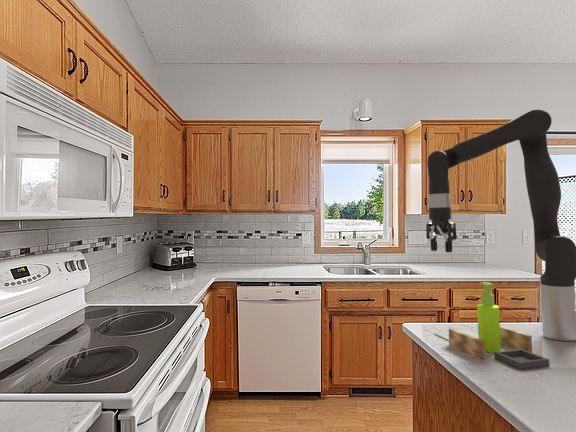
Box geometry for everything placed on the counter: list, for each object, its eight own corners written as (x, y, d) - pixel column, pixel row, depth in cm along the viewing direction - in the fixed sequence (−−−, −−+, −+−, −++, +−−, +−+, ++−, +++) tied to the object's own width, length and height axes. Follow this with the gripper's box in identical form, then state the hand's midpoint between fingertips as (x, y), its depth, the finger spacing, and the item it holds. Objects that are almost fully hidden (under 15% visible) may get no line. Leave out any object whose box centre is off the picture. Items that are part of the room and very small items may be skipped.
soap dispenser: (494, 345, 120) (491, 280, 121) (504, 352, 114) (501, 284, 114) (474, 345, 121) (472, 281, 121) (483, 352, 114) (480, 284, 115)
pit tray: (494, 358, 109) (494, 352, 109) (521, 355, 111) (521, 348, 111) (520, 370, 100) (520, 363, 100) (549, 366, 102) (548, 359, 102)
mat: (433, 334, 134) (433, 332, 134) (466, 330, 137) (466, 329, 137) (454, 343, 123) (454, 342, 123) (489, 339, 126) (489, 338, 126)
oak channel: (449, 344, 122) (448, 328, 122) (496, 339, 126) (495, 324, 126) (480, 359, 108) (479, 341, 109) (532, 353, 112) (531, 335, 113)
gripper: (461, 205, 134) (463, 252, 134) (436, 207, 148) (438, 249, 148) (442, 205, 132) (444, 253, 132) (419, 207, 146) (420, 250, 146)
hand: (441, 251), depth 140 cm, fingers open, 8 cm apart
